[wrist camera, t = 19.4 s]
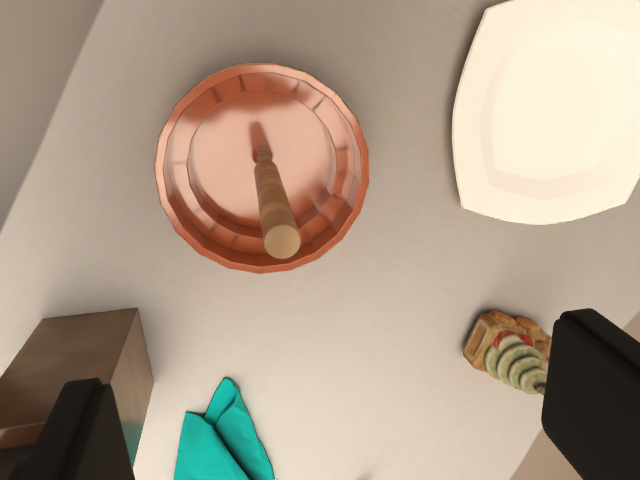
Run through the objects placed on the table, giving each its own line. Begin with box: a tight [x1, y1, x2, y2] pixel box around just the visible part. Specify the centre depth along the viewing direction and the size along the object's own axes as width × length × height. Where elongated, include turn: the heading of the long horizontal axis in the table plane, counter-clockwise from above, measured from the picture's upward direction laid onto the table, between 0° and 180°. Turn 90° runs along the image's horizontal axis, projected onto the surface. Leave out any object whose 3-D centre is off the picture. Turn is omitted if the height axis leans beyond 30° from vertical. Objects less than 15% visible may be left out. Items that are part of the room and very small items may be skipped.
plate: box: [452, 0, 640, 225], centre depth 43 cm, size 19×19×2 cm
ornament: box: [463, 311, 552, 395], centre depth 47 cm, size 8×6×10 cm
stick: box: [254, 148, 301, 259], centre depth 33 cm, size 2×2×18 cm
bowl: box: [154, 61, 369, 274], centre depth 39 cm, size 15×15×6 cm
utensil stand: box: [0, 308, 154, 480], centre depth 35 cm, size 8×8×23 cm
